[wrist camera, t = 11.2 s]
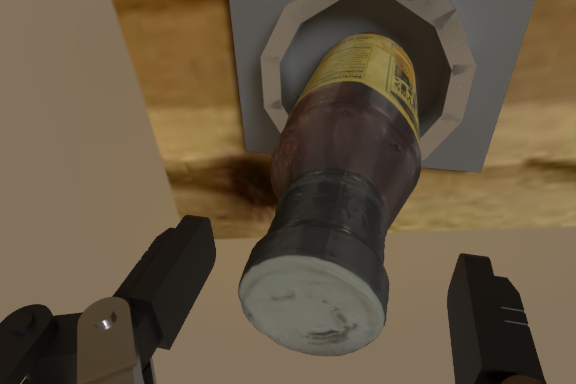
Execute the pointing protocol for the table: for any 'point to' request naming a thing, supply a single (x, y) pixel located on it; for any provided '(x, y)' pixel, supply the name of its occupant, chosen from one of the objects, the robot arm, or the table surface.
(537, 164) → the table surface
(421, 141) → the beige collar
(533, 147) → the table surface
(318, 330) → the sauce bottle
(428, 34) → the charcoal base
